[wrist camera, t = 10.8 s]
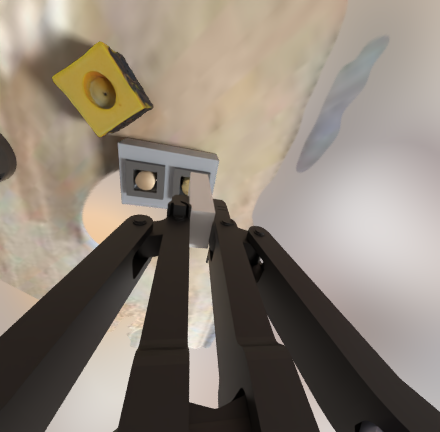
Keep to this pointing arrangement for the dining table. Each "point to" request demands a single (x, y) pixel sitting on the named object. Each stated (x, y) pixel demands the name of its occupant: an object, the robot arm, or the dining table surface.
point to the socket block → (160, 170)
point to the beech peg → (146, 179)
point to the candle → (103, 90)
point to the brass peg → (185, 185)
